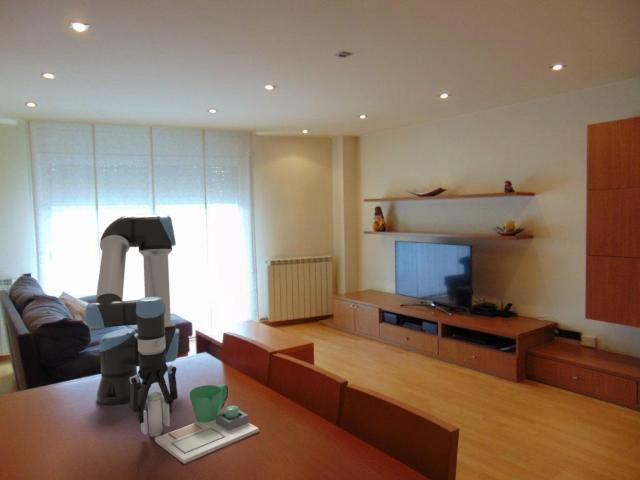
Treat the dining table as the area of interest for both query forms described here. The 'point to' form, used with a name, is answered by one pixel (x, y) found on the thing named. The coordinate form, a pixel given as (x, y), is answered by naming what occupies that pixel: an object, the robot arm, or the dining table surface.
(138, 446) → the dining table surface
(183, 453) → the board
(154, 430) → the marker
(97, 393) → the robot arm
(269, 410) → the dining table surface
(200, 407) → the mug
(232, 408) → the button
